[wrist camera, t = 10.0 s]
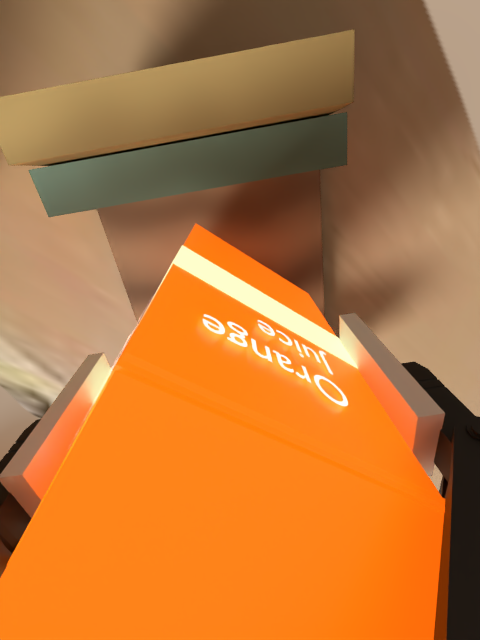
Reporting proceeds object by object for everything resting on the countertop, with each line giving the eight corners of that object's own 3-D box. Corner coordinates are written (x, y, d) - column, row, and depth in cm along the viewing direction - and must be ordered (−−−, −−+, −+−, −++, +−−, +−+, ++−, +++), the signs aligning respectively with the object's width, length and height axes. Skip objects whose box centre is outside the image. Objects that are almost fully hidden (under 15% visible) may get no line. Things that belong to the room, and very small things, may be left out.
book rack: (81, 132, 21) (-69, 95, 10) (309, 89, 20) (401, 4, 10) (171, 394, 32) (143, 508, 21) (320, 371, 31) (370, 477, 21)
